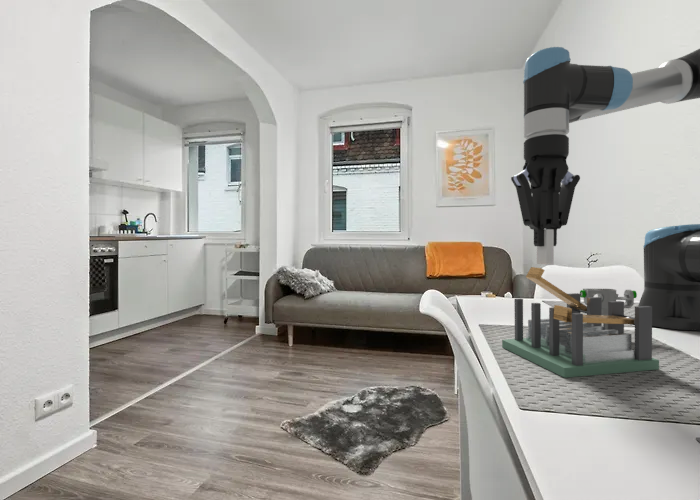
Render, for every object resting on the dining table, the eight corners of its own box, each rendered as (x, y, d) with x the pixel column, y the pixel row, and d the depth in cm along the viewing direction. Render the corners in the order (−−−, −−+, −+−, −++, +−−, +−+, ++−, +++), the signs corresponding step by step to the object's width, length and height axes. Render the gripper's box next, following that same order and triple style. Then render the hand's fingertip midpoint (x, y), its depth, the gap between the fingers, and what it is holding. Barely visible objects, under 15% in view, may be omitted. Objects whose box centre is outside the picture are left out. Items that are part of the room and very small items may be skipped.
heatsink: (567, 336, 77) (567, 316, 77) (634, 359, 62) (634, 334, 62) (526, 339, 76) (526, 319, 76) (585, 363, 61) (585, 338, 61)
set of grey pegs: (577, 335, 78) (577, 293, 78) (652, 359, 62) (652, 306, 62) (514, 339, 76) (514, 296, 76) (576, 365, 60) (576, 311, 60)
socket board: (579, 341, 79) (579, 334, 79) (659, 369, 62) (659, 359, 62) (502, 347, 76) (502, 339, 76) (564, 377, 59) (564, 368, 59)
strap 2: (622, 321, 67) (623, 307, 67) (641, 326, 63) (642, 311, 63) (552, 319, 65) (553, 304, 65) (567, 323, 61) (568, 308, 61)
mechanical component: (638, 338, 80) (638, 290, 80) (583, 337, 82) (583, 290, 82) (631, 335, 83) (631, 288, 83) (578, 333, 85) (578, 288, 85)
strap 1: (577, 312, 77) (583, 301, 77) (591, 315, 73) (597, 304, 73) (524, 277, 75) (530, 266, 75) (536, 279, 71) (542, 268, 71)
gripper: (562, 143, 77) (561, 262, 78) (502, 141, 75) (502, 263, 76) (592, 133, 70) (591, 264, 71) (526, 130, 68) (525, 266, 68)
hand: (545, 264), depth 73 cm, fingers closed
